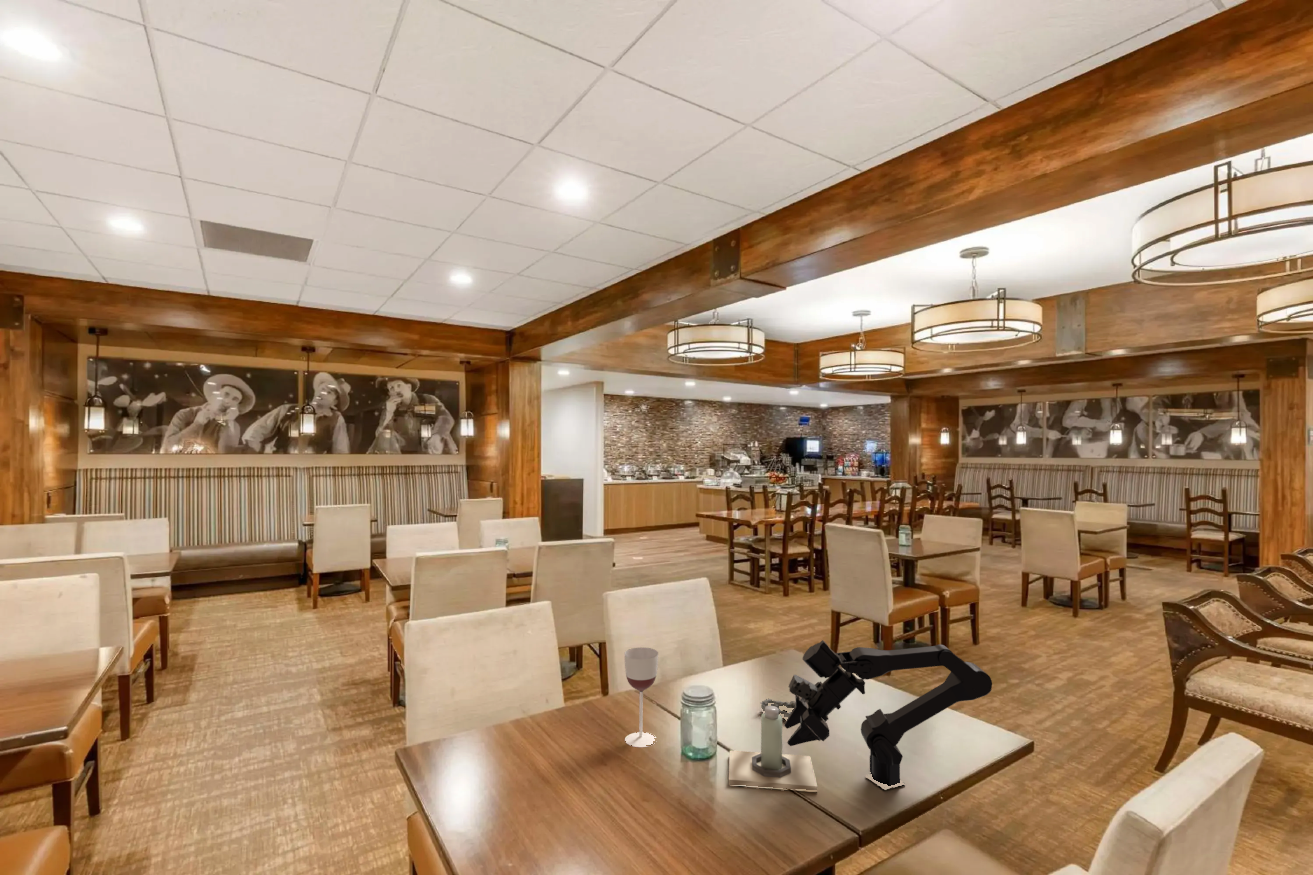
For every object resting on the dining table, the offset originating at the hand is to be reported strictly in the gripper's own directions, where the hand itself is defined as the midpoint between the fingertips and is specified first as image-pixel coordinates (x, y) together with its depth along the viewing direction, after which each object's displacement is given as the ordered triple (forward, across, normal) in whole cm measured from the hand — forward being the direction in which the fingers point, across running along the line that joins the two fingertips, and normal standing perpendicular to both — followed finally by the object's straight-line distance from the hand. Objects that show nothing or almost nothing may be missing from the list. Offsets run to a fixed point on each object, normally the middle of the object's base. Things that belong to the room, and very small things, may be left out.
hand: (787, 735), depth 144 cm
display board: (+9, 0, +4) cm, 10 cm away
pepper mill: (+8, 0, +3) cm, 9 cm away
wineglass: (+33, -13, -20) cm, 41 cm away
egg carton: (+7, -34, +7) cm, 36 cm away
